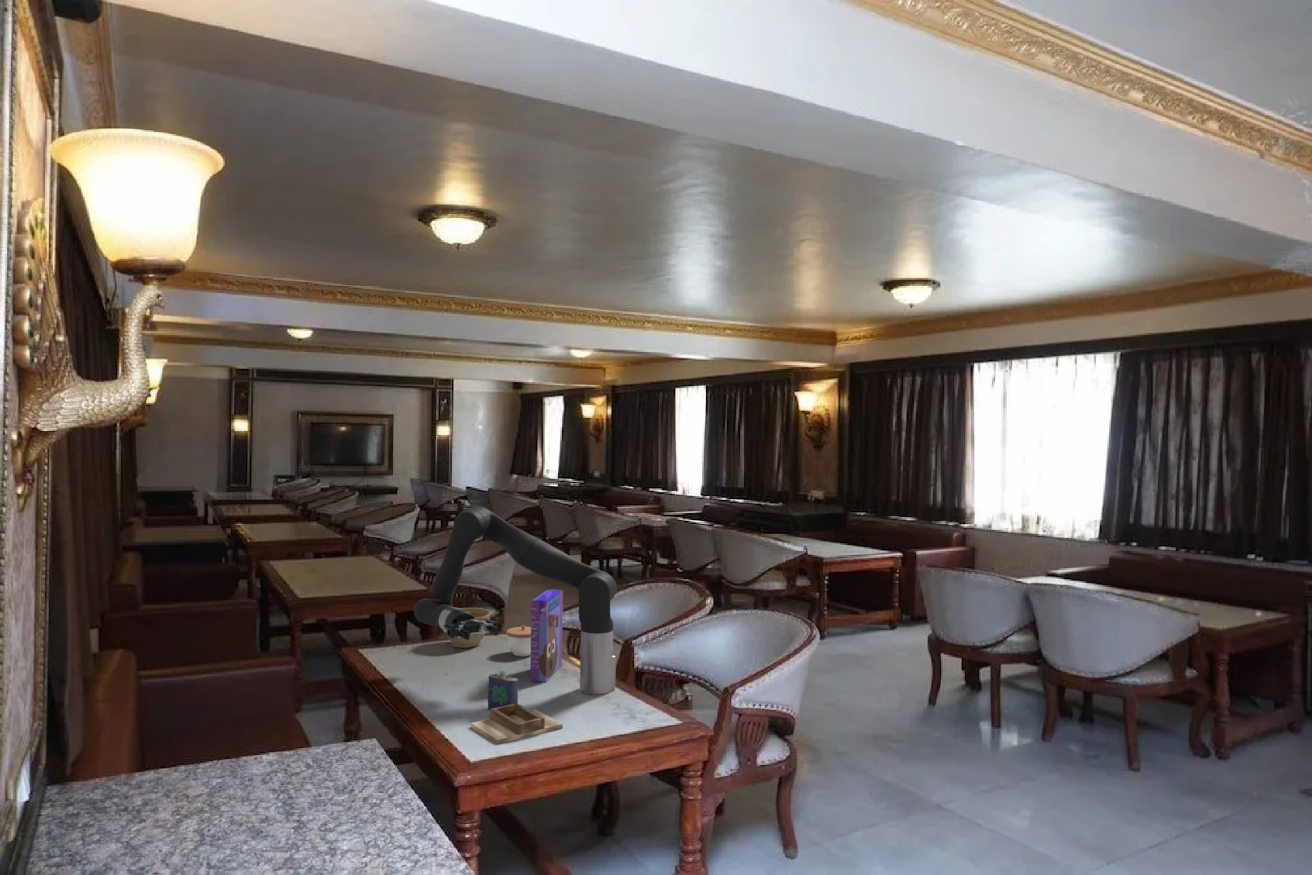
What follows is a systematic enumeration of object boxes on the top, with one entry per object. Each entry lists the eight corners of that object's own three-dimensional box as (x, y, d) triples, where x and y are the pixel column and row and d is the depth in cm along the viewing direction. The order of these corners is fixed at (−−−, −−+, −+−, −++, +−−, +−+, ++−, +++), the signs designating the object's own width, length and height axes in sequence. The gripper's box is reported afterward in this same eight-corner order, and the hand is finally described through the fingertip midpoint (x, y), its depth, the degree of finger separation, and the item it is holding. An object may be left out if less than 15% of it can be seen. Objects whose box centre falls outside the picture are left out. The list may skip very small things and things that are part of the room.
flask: (519, 712, 225) (520, 671, 224) (512, 715, 222) (513, 674, 222) (491, 706, 229) (491, 666, 229) (484, 709, 226) (484, 669, 226)
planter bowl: (439, 640, 296) (440, 609, 296) (487, 637, 301) (487, 606, 301) (442, 652, 281) (443, 619, 280) (492, 649, 286) (492, 616, 285)
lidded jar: (542, 656, 278) (543, 628, 277) (509, 659, 274) (510, 630, 273) (534, 648, 288) (535, 620, 287) (503, 651, 284) (503, 622, 283)
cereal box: (545, 682, 251) (547, 600, 250) (530, 681, 251) (531, 600, 251) (561, 665, 268) (562, 589, 267) (547, 664, 269) (548, 588, 268)
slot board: (533, 712, 225) (533, 699, 225) (562, 727, 214) (562, 714, 214) (470, 726, 213) (471, 713, 213) (498, 744, 202) (498, 729, 202)
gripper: (433, 611, 242) (459, 623, 229) (479, 606, 251) (506, 617, 238) (432, 638, 242) (458, 651, 229) (478, 631, 251) (505, 643, 238)
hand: (482, 633), depth 234 cm, fingers open, 8 cm apart
